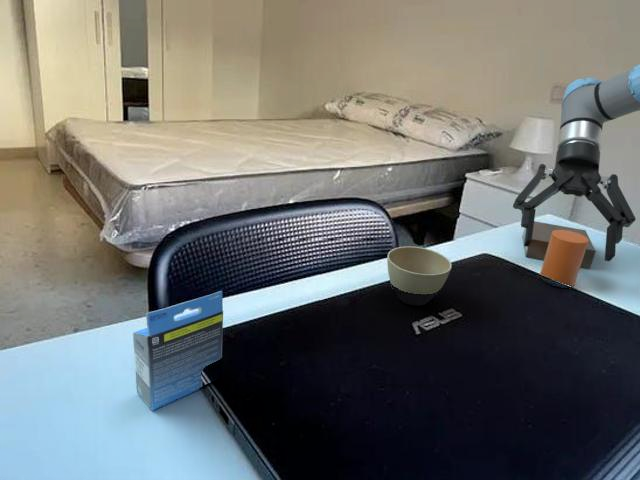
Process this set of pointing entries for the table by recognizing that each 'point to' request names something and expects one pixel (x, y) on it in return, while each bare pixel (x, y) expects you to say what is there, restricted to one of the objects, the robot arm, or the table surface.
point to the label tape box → (177, 349)
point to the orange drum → (564, 256)
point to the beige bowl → (417, 269)
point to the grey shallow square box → (543, 237)
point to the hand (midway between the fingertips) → (567, 250)
